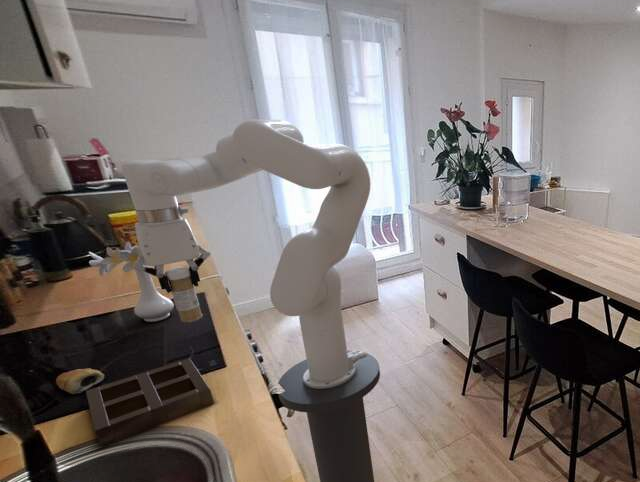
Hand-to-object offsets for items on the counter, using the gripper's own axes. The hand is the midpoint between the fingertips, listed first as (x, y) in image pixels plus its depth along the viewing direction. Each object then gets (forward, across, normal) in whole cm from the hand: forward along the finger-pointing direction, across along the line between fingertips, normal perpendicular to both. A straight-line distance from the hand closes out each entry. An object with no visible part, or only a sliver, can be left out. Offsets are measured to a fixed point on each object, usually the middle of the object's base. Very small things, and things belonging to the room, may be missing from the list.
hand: (182, 287), depth 100 cm
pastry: (+21, +22, -8) cm, 31 cm away
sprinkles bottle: (+9, 0, 0) cm, 9 cm away
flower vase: (+20, +4, -39) cm, 44 cm away
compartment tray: (+21, +12, +13) cm, 28 cm away
